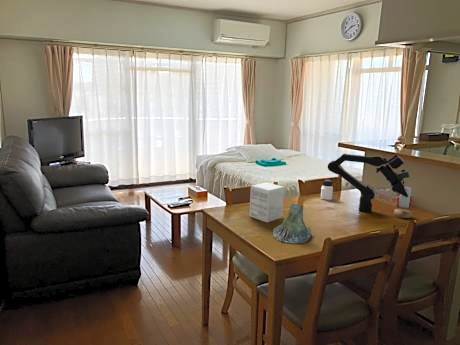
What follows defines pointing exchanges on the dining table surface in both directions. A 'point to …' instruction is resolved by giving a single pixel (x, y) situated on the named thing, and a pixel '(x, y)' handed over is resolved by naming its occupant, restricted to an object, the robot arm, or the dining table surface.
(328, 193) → the medicine bottle
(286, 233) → the tree stump
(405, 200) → the pale blue small block
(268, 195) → the supplement box
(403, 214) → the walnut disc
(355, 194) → the dining table surface
